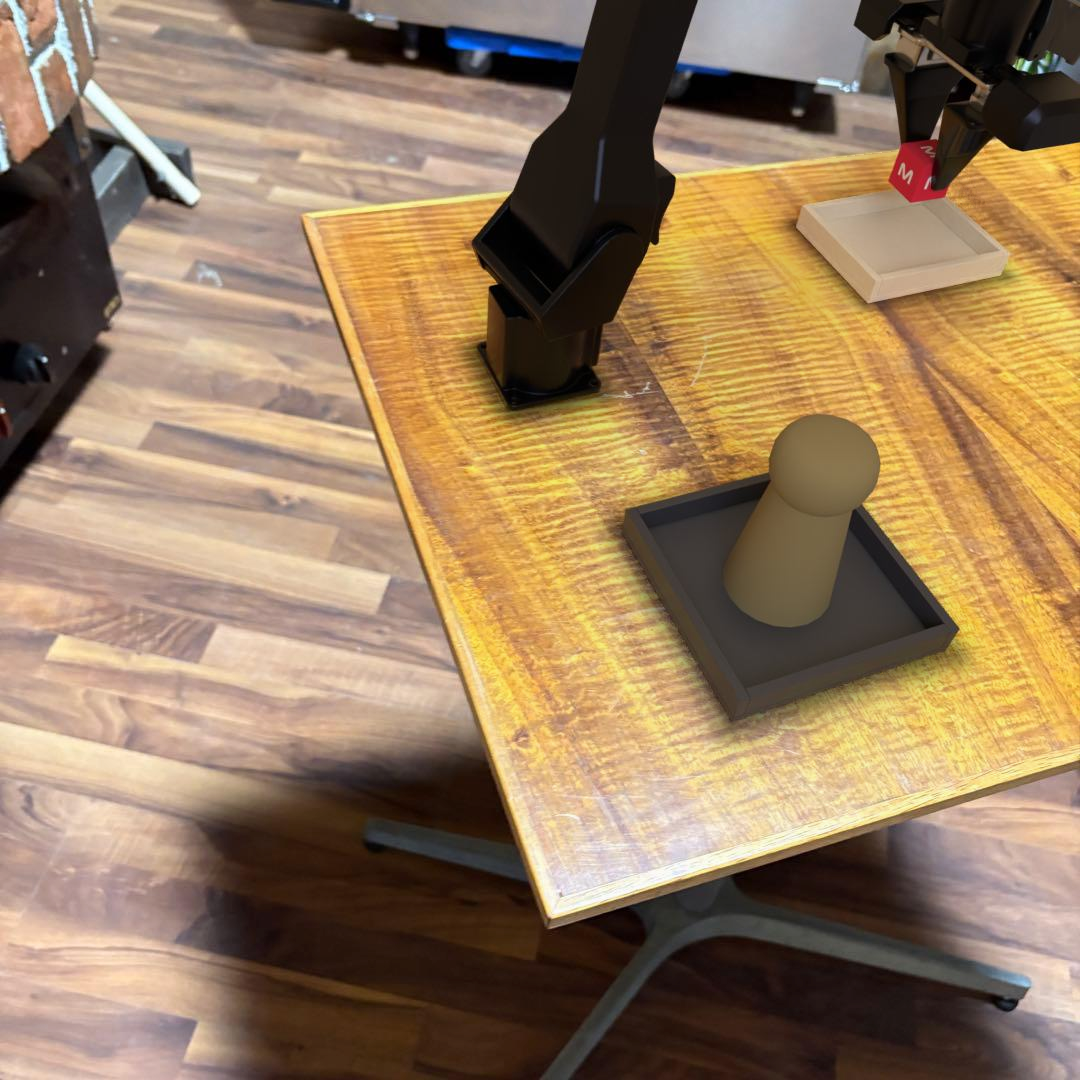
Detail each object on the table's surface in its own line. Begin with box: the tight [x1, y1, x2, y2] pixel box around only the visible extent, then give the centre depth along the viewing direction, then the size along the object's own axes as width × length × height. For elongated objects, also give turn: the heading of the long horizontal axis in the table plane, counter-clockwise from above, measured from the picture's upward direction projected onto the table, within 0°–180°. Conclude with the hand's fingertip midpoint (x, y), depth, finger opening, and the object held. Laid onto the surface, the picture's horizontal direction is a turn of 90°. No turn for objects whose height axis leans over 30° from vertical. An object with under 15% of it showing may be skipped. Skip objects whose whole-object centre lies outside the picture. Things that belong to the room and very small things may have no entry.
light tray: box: [795, 188, 1012, 304], centre depth 79 cm, size 12×10×2 cm
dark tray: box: [621, 471, 961, 723], centre depth 56 cm, size 13×13×2 cm
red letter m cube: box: [887, 138, 951, 203], centre depth 74 cm, size 3×3×3 cm
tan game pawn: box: [723, 413, 882, 627], centre depth 52 cm, size 6×6×11 cm
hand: (923, 177), depth 74 cm, fingers closed on red letter m cube, 3 cm apart
